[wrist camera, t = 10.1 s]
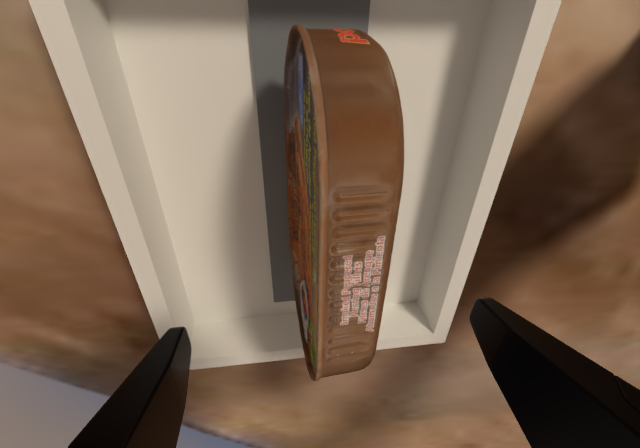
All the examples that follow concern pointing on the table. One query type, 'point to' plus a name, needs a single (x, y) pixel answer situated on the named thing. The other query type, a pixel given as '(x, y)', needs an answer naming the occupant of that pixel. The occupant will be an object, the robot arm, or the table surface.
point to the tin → (341, 191)
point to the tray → (270, 152)
